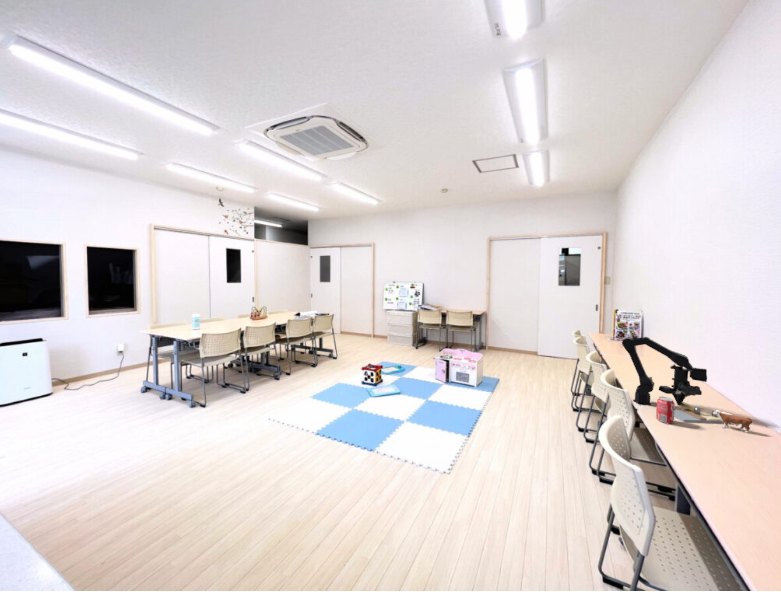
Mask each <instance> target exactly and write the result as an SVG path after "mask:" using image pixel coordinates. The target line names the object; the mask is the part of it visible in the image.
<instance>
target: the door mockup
mask: <svg viewBox="0 0 781 592" xmlns="http://www.w3.org/2000/svg"><path fill="white" fill-rule="evenodd" d="M715 411H716V410H714V411H712V410H711V409H701V412H700V414H695V413H694V412H692V411H690V410H688V409H685V408H681V409H680V410H675V411H674V419H677V420H679V421H681V422H683V423H697V424H698V423H700V424H701V423H702V424H703V423H704V424H724V422H722V421H721V420H720V418H719V417H718V416H717V415H716V414H713V412H715ZM730 424H732V423H728V425H730Z"/></svg>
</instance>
